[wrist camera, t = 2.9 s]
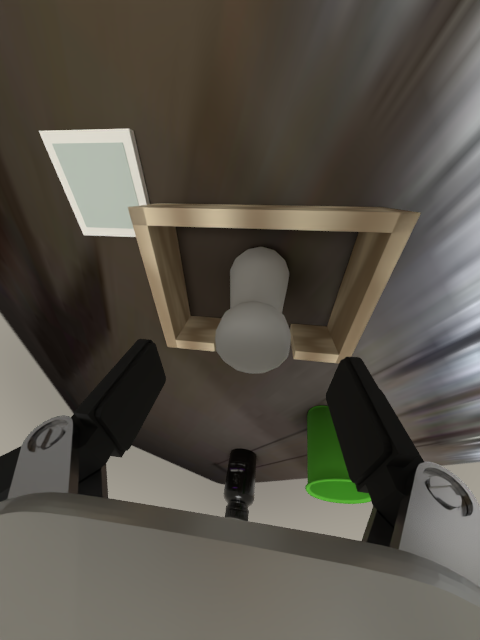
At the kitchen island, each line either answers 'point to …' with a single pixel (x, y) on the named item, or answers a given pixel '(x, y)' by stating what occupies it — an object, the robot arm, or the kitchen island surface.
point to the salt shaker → (255, 313)
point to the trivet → (99, 177)
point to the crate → (366, 258)
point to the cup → (328, 462)
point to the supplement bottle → (240, 484)
